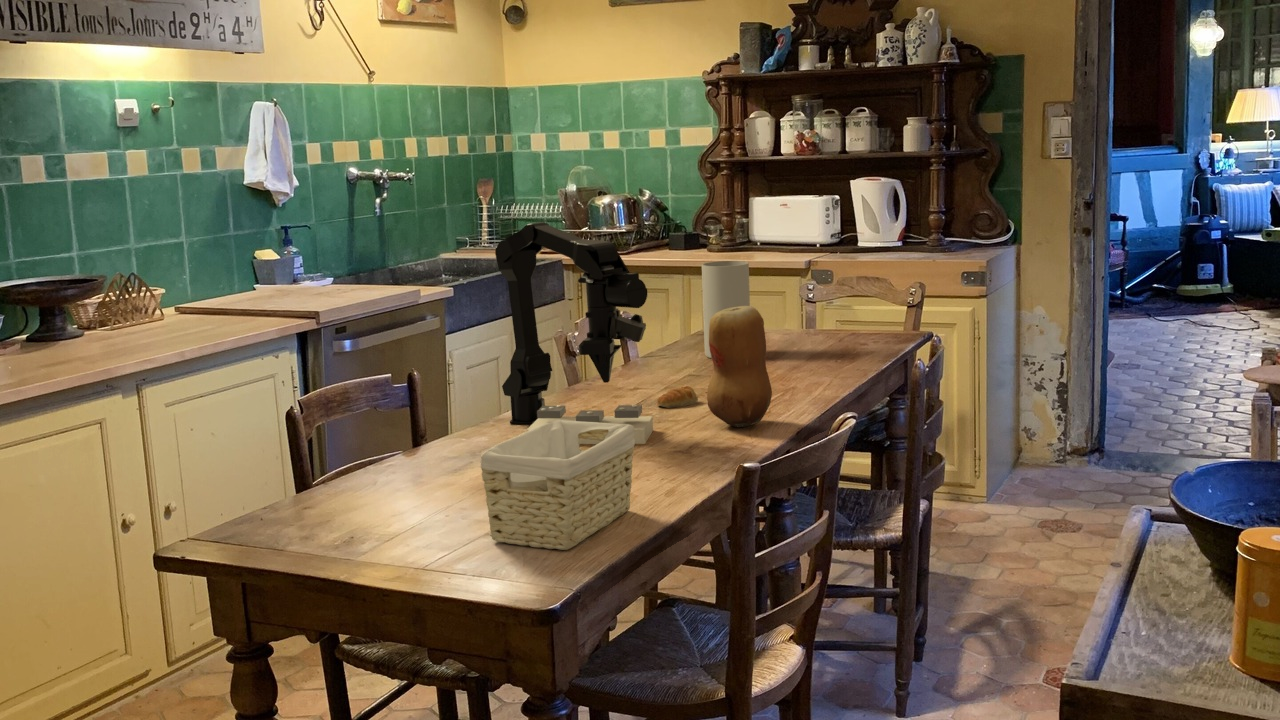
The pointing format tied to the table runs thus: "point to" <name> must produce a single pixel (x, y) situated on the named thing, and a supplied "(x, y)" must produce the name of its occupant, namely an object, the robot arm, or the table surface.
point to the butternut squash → (738, 367)
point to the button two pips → (628, 411)
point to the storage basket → (558, 483)
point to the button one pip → (590, 416)
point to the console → (641, 424)
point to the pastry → (678, 397)
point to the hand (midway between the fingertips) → (606, 382)
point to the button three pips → (551, 411)
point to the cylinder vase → (723, 290)
